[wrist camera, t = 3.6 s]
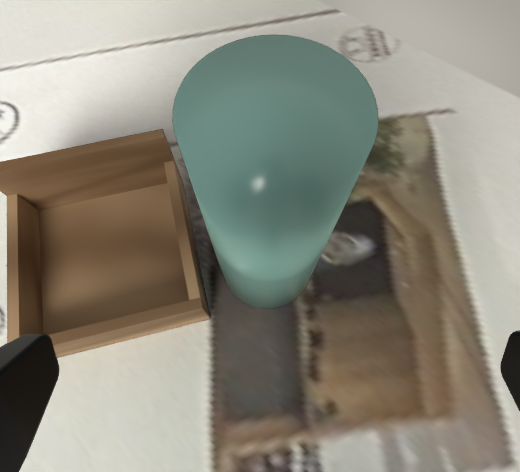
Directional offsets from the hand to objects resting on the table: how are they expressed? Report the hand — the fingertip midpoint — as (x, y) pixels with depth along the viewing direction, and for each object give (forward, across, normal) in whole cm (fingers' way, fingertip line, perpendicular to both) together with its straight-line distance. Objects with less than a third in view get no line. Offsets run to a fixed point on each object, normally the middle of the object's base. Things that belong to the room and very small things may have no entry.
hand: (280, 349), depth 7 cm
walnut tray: (+13, +8, +5) cm, 16 cm away
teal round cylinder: (+12, 0, +5) cm, 13 cm away
